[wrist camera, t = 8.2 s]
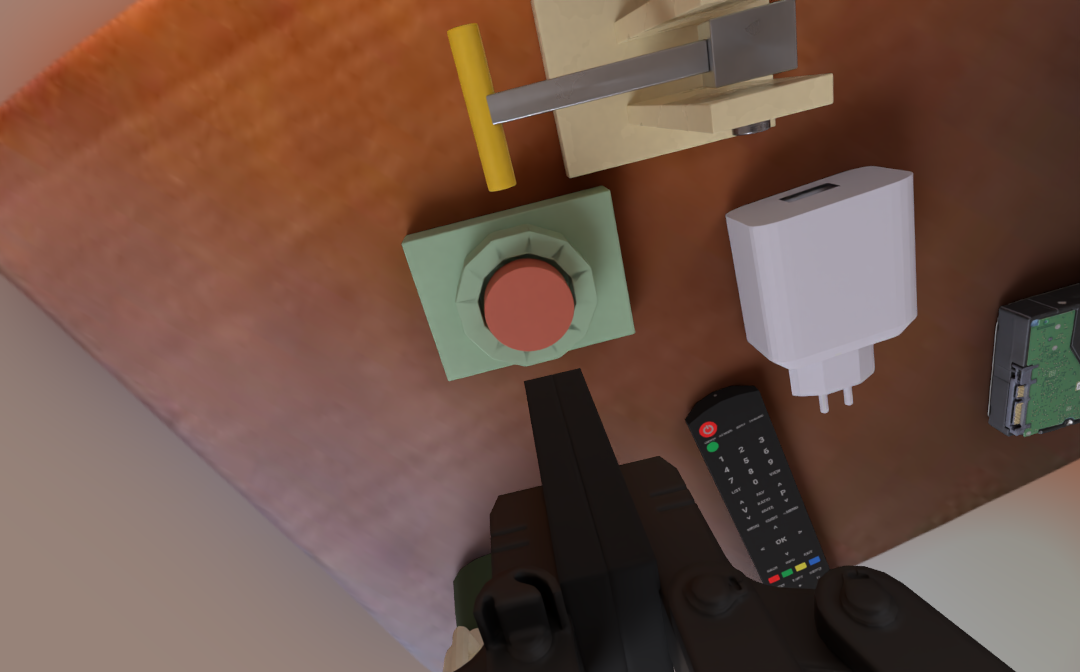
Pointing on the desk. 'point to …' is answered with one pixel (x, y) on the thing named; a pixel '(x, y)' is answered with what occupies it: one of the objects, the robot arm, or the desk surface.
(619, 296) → the button box
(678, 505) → the robot arm
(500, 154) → the t-handle lever
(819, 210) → the charger
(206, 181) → the desk surface
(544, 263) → the button
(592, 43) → the bracket
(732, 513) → the remote control
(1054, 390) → the disk drive
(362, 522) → the desk surface
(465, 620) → the character mug
